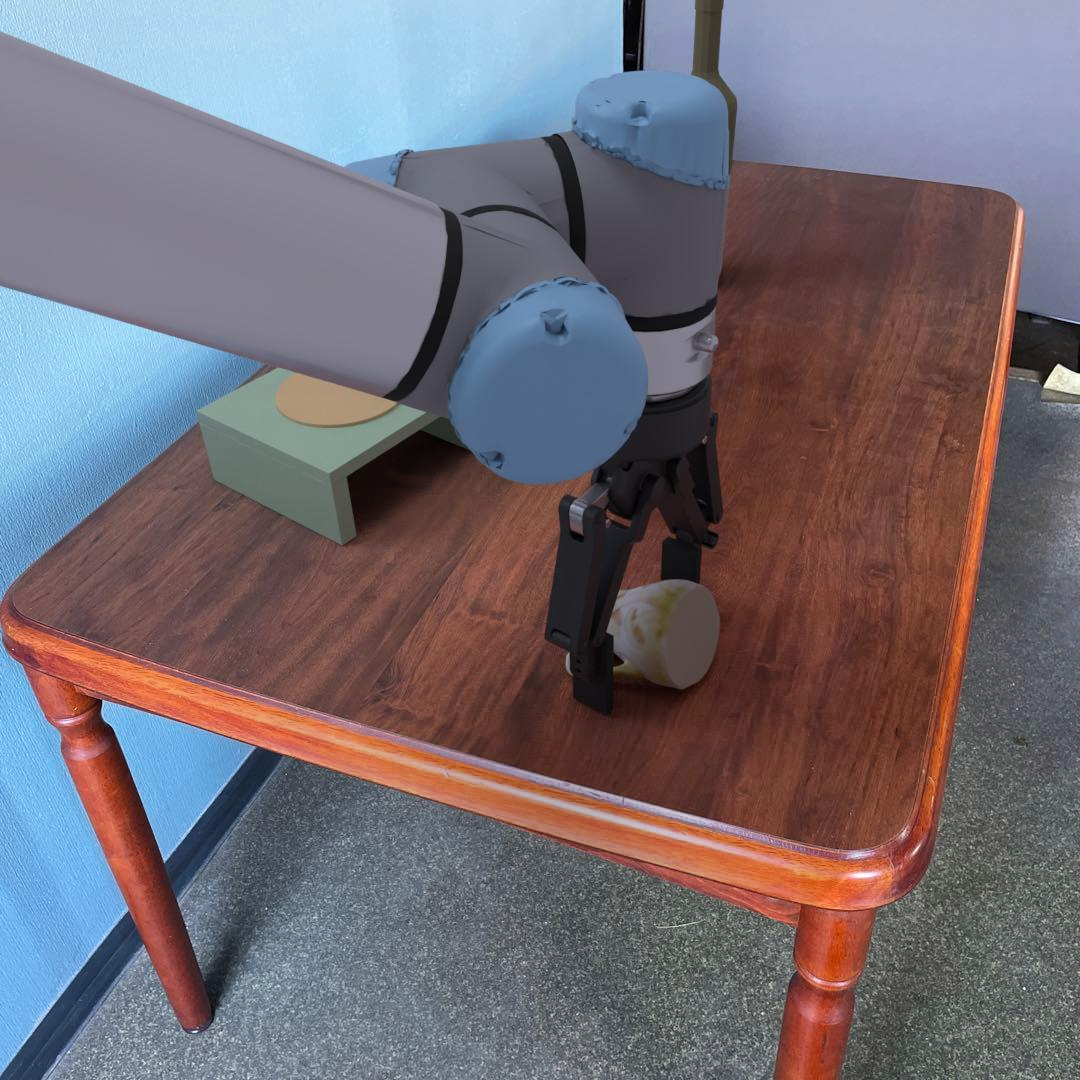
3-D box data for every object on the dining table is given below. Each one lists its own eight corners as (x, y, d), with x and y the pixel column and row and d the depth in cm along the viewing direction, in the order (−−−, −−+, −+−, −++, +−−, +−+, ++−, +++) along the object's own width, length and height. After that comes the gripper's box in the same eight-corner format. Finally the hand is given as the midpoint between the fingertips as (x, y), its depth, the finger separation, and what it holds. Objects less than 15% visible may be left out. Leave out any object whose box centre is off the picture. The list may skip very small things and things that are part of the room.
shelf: (214, 479, 93) (195, 407, 89) (361, 394, 104) (351, 325, 100) (342, 546, 85) (328, 469, 81) (487, 445, 96) (482, 373, 92)
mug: (595, 601, 80) (668, 516, 73) (681, 703, 77) (764, 624, 71) (531, 635, 74) (604, 546, 68) (621, 746, 72) (705, 665, 65)
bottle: (727, 293, 120) (751, -3, 101) (664, 295, 120) (676, -1, 101) (720, 267, 125) (741, -18, 107) (659, 269, 125) (670, -16, 107)
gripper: (582, 486, 52) (586, 787, 65) (798, 314, 65) (764, 592, 79) (464, 438, 55) (491, 733, 69) (692, 285, 69) (677, 556, 83)
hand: (637, 658), depth 74 cm, fingers open, 10 cm apart
